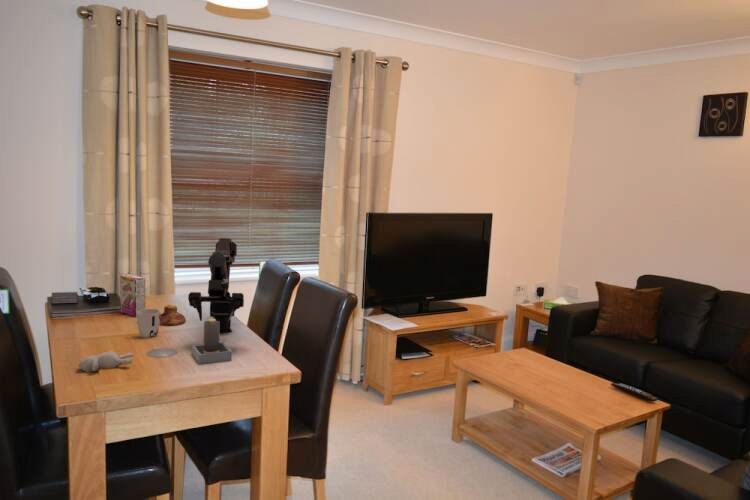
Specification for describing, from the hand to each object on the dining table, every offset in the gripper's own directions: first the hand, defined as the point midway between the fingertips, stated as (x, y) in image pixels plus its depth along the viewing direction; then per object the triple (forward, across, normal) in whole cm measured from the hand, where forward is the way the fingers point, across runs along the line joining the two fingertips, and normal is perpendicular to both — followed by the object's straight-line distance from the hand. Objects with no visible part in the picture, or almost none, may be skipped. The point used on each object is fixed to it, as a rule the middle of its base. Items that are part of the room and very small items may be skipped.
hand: (214, 320), depth 196 cm
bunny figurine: (+20, -31, -3) cm, 37 cm away
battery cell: (+13, 0, +2) cm, 13 cm away
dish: (+14, 0, +2) cm, 14 cm away
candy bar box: (-27, -39, +44) cm, 64 cm away
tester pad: (+11, -17, +6) cm, 21 cm away
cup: (-3, -25, +20) cm, 33 cm away
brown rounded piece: (-18, -22, +35) cm, 45 cm away
